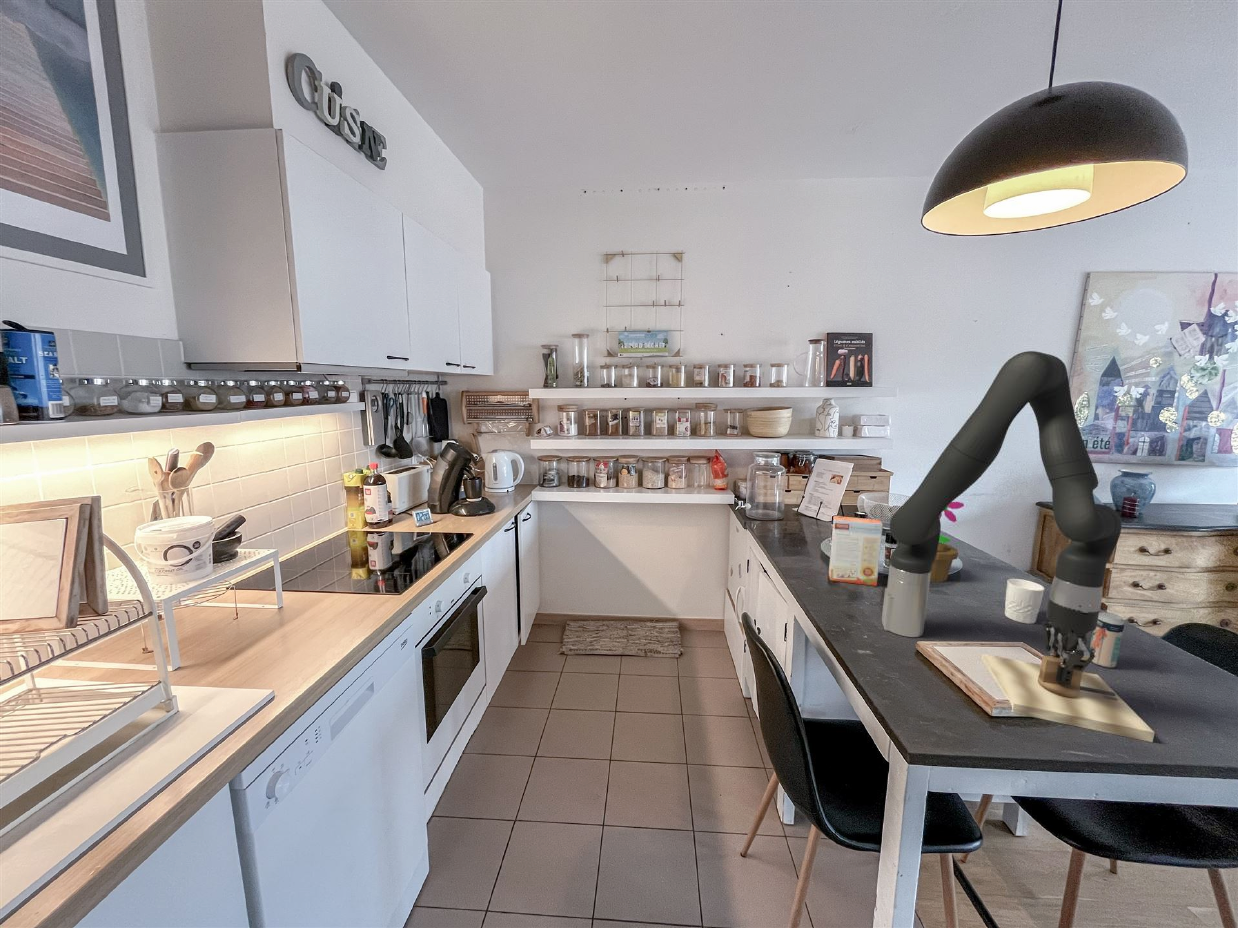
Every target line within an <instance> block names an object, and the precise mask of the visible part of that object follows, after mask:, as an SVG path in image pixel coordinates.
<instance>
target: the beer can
mask: <svg viewBox="0 0 1238 928" xmlns="http://www.w3.org/2000/svg"><path fill="white" fill-rule="evenodd" d="M1125 625H1126V624H1125V621H1124V619H1123V617H1122V616H1120V615H1118V614H1115V613H1113V612H1107V611H1099V616H1098V622H1097V627H1096V629H1095V630H1094V631H1091V632H1092V634H1091V638H1090V643H1089V648H1088V651H1089V652H1093V653H1094V655H1095V657H1094V659H1093V660H1092V661H1091V662H1092V663H1093V664H1095V665H1096V666H1099V667H1103V668H1115V667H1116V666H1117V662H1118V657H1119V653H1120V652H1119V651H1120V648H1121V642H1122V638H1123V633H1124V628H1125ZM1091 662H1090V663H1091Z"/></svg>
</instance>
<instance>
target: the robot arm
mask: <svg viewBox="0 0 1238 928" xmlns="http://www.w3.org/2000/svg"><path fill="white" fill-rule="evenodd" d="M1071 395H1072V394H1071V388H1070V382H1069V375H1068V370H1067V366H1066V364H1065V363H1064V362H1063V360H1062V359H1060V358H1059V357H1058V356H1056V355H1052V354H1049V353H1044V352H1040V351H1036V350H1035V351H1034V350H1031V351H1030V350H1027V351H1023V352H1020V353H1017V354H1015V355H1014V356H1012V357H1010V358H1009V359H1008V360H1007V361H1005V363H1004V364H1003V365H1002V366H1001V368H1000V369H999V371H998V373H997V374H996V376H995V378H994V380H993V381H992V383H991V385H990V387H989V388H988V389H987V391H986V393H985V395H984V396H983V398H982V399H981V401H980V402H979V404H978V406H977V407H976V408H975V409H974V411H973V412H972V414H971V415H970V416H969V417H968V419H967V420H966V421H965V422H964V424H963V425H962V426H961V428H960V429H959V431H957V433H956V434H955V436H954V437H952V439H951V441H950V442H949V443H948V444H947V445H946V447H945V448H944V450H943V451H942V453H941V454H940V455H939V457H938V458H937V460H936V461H935V463H934V464H933V466H931V468H930V469H929V470H928V473H927V474H926V476H925V477H924V479H923V480H922V482H921V483H920V485H919V487H917V489H916V490H915V491H914V492H913V493H912V495H911V496H909V497H908V499H907V500H906V501H905V502H904V503H903V504H902V505H901V506H900V507H899V508H898V509H897V510H896V512H894V513H893V515H892V516H891V518H890V522H889V533H890V534H891V536H892V538H893V540H895V541H896V542H897V545H896V547H895V548H894V550H893V551H892V552H891V555H890V558H889V559H890V561H889V568H888V577H887V587H885V588H884V596H883V603H882V605H883V606H882V614H881V623H882V625H883V629H884V631H888V632H891V633H894V634H895V635H899V636H903V637H907V638H908V637H909V638H919V637H922V635H923V634H924V629H925V620H926V615H927V605H928V597H929V590H930V583H931V581H930V576H931V569H932V565H933V562H934V560H935V558H936V555H937V549H938V544H939V543H940V542H939V538H940V535H941V530H942V529H941V528H942V526H941V525H942V524H941V518H940V519H939V515H940V514H941V513H942V514H943V512H944V511H943V510H944V509H945V508H946V507H947V506H948V505H949V504H950V503H951V502H954V500H956V499H958V497H959V496H961V495H962V494H963V493H964V492H966V491H967V490H969V488H970V487H971V486H973V485H974V484H975V483H976V482H977V481H978V480H979V479H980V478H981V477H982V476H983V474H984V473H985V472H986V471H987V470H988V469H989V467H990V466H991V465H992V464H993V462H994V461H995V460H996V458H997V457H998V455H999V453H1000V452H1001V448H1002V447H1003V444H1004V442H1005V439H1006V435H1007V433H1008V431H1009V428H1010V427H1011V424H1012V422H1013V421H1014V420H1015V418H1016V417H1017V416H1018V414H1020V413H1021V411H1022V410H1023V409H1024V408H1025V406H1027V404H1029V405H1030V407H1031V409H1032V411H1033V413H1034V416H1035V419H1036V423H1037V428H1038V438H1039V441H1038V442H1039V450H1040V451H1039V453H1040V457H1041V462H1042V465H1043V467H1044V471H1045V474H1046V476H1047V480H1048V481H1049V484H1050V487H1051V492H1052V493H1051V494H1052V497H1051V499H1052V510H1053V517H1054V521H1055V523H1056V527H1057V528H1058V530H1059V531H1060V533H1061V534H1062V535H1063V536H1064V537H1066V538H1068V540H1070V542H1069V544H1068V546H1067V547H1066V548H1064V549H1063V550H1061V551H1060V553H1059V554H1058V557H1057V559H1056V566H1055V572H1054V577H1053V580H1052V582H1051V585H1050V591H1049V596H1048V601H1047V608H1046V614H1045V616H1046V619H1048V620H1049V621H1043V622H1042V628H1043V638H1044V645H1045V647H1044V648H1045V651H1048V652H1049V656H1050V657H1055V658H1060V660H1059V665H1058V671H1057V676H1056V681H1057V682H1058V683H1059V684H1064V685H1070V684H1071V680H1072V675H1073V671H1074V670H1076V671H1083V672H1084V670H1086V668H1087V667H1088V666H1089V665H1090V663H1091V661H1092V660H1093V659H1094V657H1095V655H1094V653H1093V652H1089V649H1088V648H1087V646H1086V645H1087V644H1088V643H1087V634H1088V633H1090V632H1093V631H1094V630H1095V629H1096V627H1097V622H1098V616H1099V612H1101V611H1100V610H1101V606H1102V601H1103V585H1104V582H1105V581H1104V580H1105V577H1106V569H1107V564H1108V561H1109V560H1110V558H1111V556H1112V555H1113V552H1114V550H1115V549H1116V546H1117V544H1118V542H1119V539H1120V536H1121V534H1122V519H1121V517H1120V515H1119V514H1118V512H1117V511H1116V510H1115V509H1113V507H1111V506H1108V505H1105V504H1101V503H1096V501H1095V497H1094V490H1095V489H1096V488H1097V487H1098V486H1099V479H1098V475H1097V473H1096V471H1095V467H1094V465H1093V462H1092V460H1091V458H1090V457H1091V456H1090V454H1089V452H1088V450H1087V447H1086V445H1085V443H1084V439H1083V436H1082V434H1081V431H1080V428H1079V425H1078V421H1077V418H1076V415H1075V409H1074V406H1073V405H1074V404H1073V401H1072V397H1071ZM1066 659H1067V660H1068V661H1067V662H1066Z"/></svg>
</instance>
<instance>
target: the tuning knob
mask: <svg viewBox="0 0 1238 928" xmlns="http://www.w3.org/2000/svg"><path fill="white" fill-rule="evenodd" d="M1059 660H1060V658H1055V657H1050V655H1042V658H1041V662H1040V663H1041V669H1040V674H1039V676H1038V683H1039V684H1040V685H1041V686H1042V687H1044V688H1045V689H1047V690H1049V691H1051V692H1053V693H1056V694H1059V695H1062V696H1067V697H1077V696H1078V695H1079V692H1080V690H1083V691H1088V692H1094V693H1099V694H1104V695H1110V696H1115V695H1116V694H1117V693H1116V692H1115V691H1114V692H1115V693H1116V694H1115V693H1114V692H1110V691H1104V690H1099V689H1093V688H1088V687H1082V686H1080V683H1081V678H1082V672H1084V670H1083V671H1076V670H1074V671H1073V675H1072V680H1071V684H1070V685H1064V684H1059V683H1058V682H1057V681H1056V676H1057V671H1058V665H1059ZM1067 661H1068V658H1067V659H1066V662H1067Z"/></svg>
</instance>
